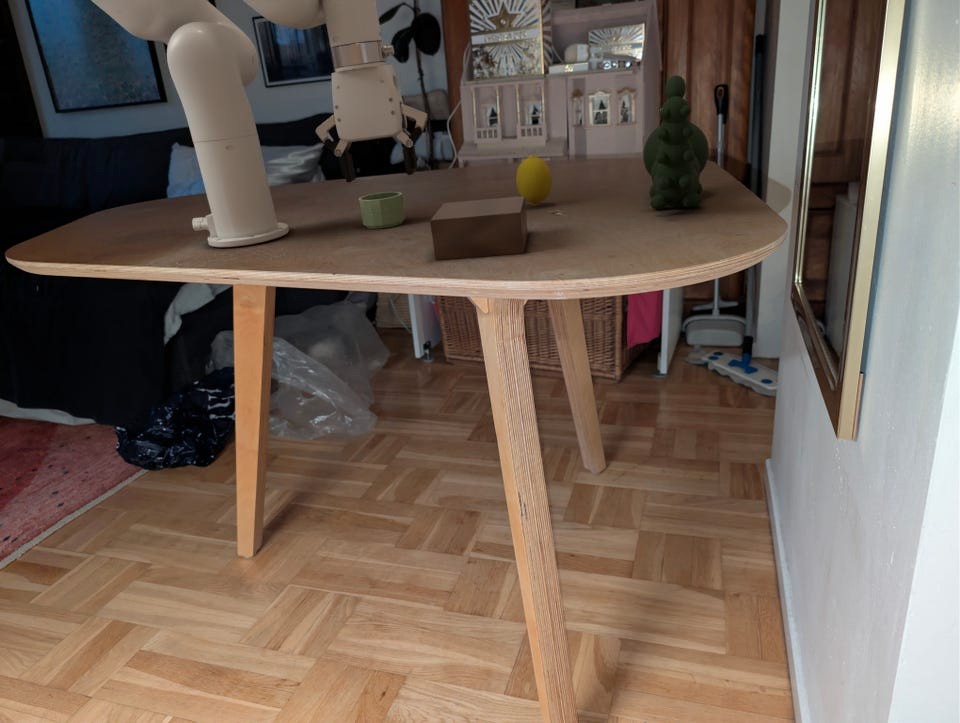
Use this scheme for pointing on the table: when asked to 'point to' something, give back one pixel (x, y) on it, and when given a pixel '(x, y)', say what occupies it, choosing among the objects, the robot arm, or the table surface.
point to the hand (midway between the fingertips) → (381, 177)
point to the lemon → (533, 180)
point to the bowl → (382, 210)
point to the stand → (480, 228)
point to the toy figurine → (675, 152)
